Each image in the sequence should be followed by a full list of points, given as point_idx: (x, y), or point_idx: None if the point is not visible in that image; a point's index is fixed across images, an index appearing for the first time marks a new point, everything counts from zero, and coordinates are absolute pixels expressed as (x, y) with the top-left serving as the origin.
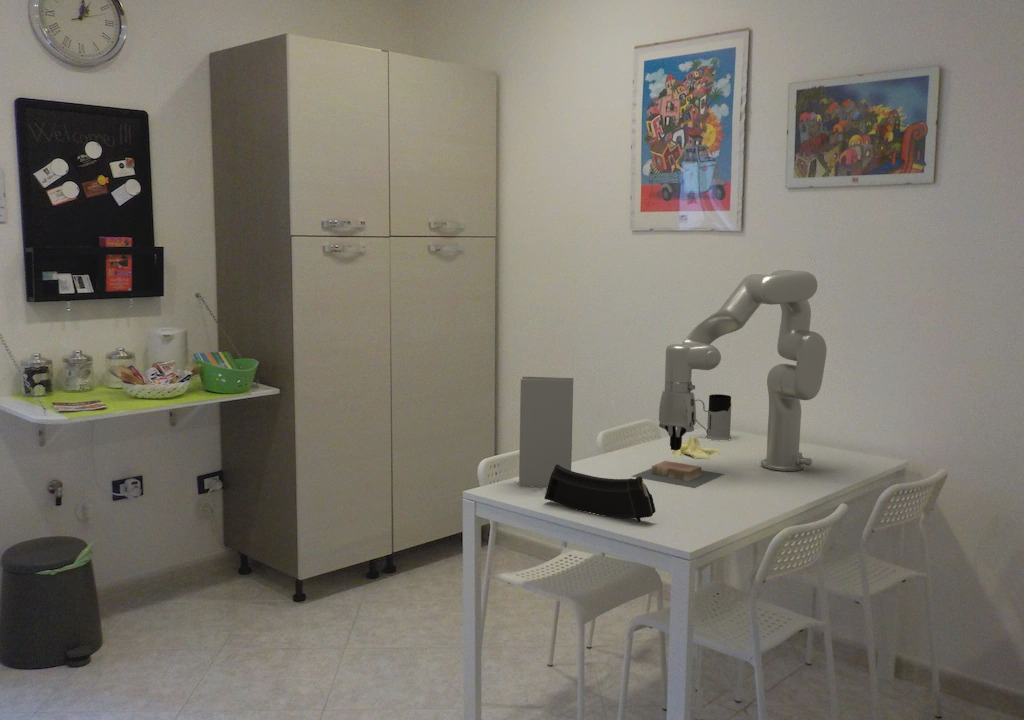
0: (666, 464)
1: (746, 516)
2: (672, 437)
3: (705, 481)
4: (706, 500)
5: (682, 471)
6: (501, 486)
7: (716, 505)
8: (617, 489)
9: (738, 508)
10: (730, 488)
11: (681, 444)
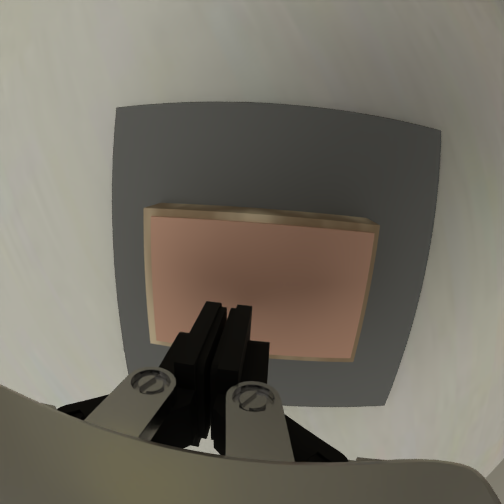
0: (195, 297)
1: (485, 462)
2: (197, 440)
3: (407, 308)
4: (422, 449)
5: (317, 360)
6: None
7: (442, 458)
8: None
9: (482, 443)
10: (484, 313)
11: (268, 350)
